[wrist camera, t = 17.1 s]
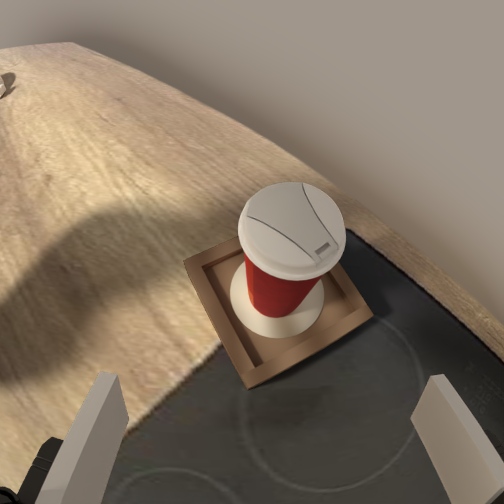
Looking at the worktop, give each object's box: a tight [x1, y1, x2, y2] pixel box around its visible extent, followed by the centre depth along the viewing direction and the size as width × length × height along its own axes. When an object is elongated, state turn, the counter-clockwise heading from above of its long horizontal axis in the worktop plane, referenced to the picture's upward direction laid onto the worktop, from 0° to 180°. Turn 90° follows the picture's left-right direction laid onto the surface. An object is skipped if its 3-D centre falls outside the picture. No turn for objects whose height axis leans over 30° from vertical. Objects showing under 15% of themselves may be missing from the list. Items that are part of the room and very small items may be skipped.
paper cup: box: [238, 182, 346, 318], centre depth 27 cm, size 8×8×14 cm
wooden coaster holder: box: [183, 236, 374, 390], centre depth 35 cm, size 15×15×4 cm
